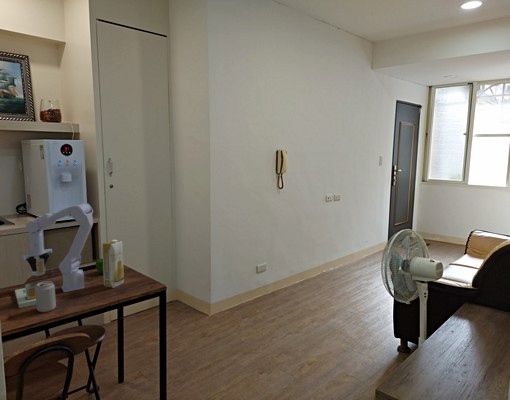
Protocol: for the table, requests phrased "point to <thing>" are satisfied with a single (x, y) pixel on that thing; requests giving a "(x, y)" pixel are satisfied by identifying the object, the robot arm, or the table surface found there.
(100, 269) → the bell pepper
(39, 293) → the can
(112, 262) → the juice carton
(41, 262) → the small drink carton
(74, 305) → the table surface
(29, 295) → the glass of amber drink
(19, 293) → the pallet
